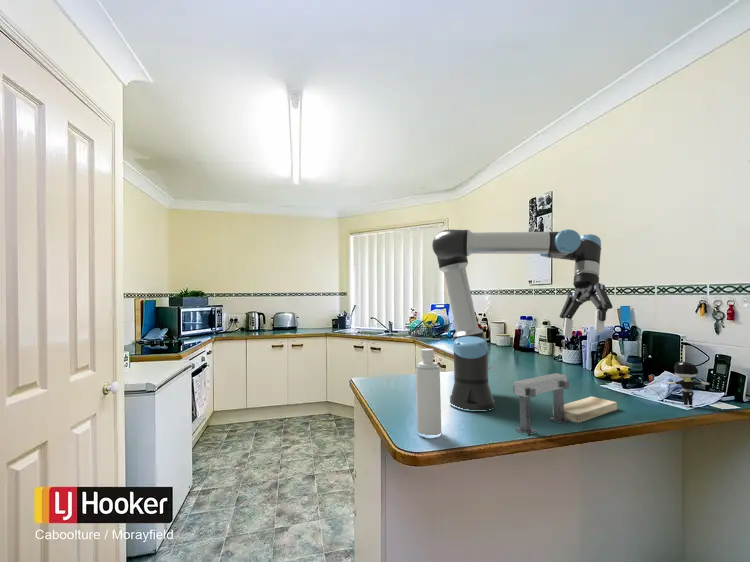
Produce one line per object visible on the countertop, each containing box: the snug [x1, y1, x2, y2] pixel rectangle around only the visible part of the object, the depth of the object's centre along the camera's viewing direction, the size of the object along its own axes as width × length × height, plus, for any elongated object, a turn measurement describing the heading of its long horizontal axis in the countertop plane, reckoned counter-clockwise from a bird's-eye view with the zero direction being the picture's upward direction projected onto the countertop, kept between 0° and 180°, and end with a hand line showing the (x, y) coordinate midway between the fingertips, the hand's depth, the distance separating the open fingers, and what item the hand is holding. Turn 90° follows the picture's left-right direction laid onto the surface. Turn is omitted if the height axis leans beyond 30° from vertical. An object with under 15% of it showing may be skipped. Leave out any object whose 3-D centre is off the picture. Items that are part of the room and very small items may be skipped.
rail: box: [513, 372, 568, 397], centre depth 99 cm, size 4×20×4 cm, turn 120°
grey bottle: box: [415, 348, 442, 435], centre depth 95 cm, size 7×7×25 cm
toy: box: [664, 360, 710, 406], centre depth 115 cm, size 13×6×15 cm, turn 84°
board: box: [552, 396, 618, 424], centre depth 110 cm, size 8×23×2 cm, turn 120°
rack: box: [512, 380, 570, 436], centre depth 99 cm, size 6×20×12 cm, turn 120°
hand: (582, 334), depth 112 cm, fingers open, 13 cm apart
